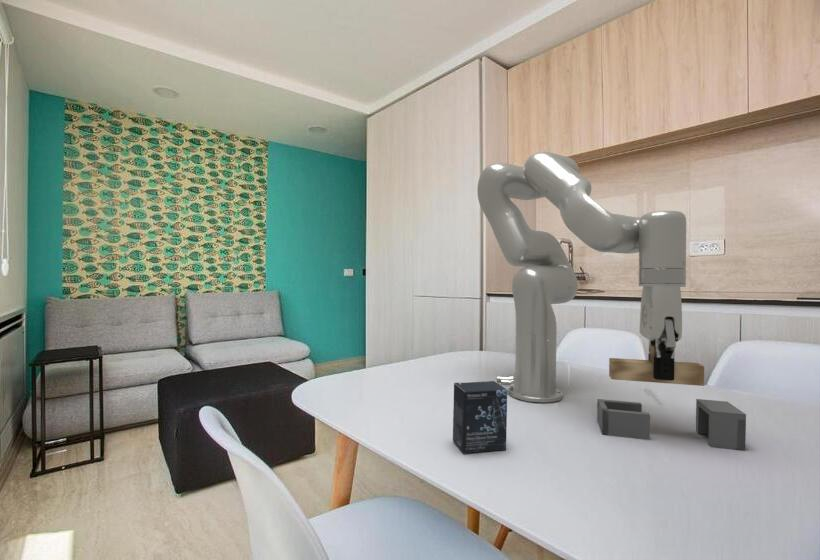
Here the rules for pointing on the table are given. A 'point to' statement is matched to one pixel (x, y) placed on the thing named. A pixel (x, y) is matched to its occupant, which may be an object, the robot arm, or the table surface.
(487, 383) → the box
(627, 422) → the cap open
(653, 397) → the butter knife
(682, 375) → the slat
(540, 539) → the table surface
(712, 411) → the channel bracket
